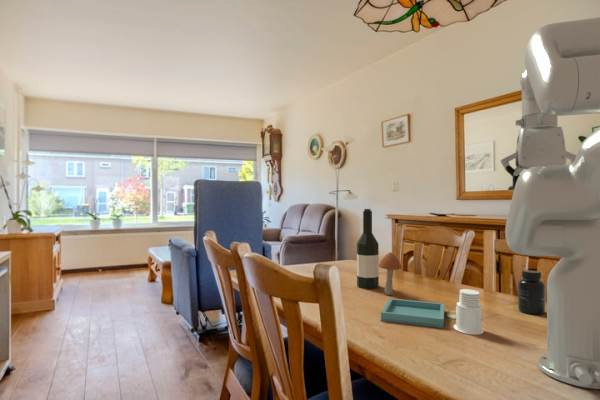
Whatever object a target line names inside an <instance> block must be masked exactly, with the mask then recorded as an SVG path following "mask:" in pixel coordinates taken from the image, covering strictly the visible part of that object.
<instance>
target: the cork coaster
mask: <svg viewBox="0 0 600 400" xmlns="http://www.w3.org/2000/svg"><path fill="white" fill-rule="evenodd" d="M445 317H447V318H448V319H450V320H451V321H452V320H453V321H456V310H449V311H447V312H446V313H445Z"/></svg>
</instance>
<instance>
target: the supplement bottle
mask: <svg viewBox="0 0 600 400" xmlns="http://www.w3.org/2000/svg"><path fill="white" fill-rule="evenodd" d="M521 278H522V279H519V280H518V282H517V283H518V285H517V297H518V298H517V305H518V306H517V309H518V311H519V312H521V313H524V314H528V315H535V316H537V315H539V316H540V315H542V316H543V315H544V314H545V313H546V284H545V283H544V281H542V280H541V279H542V273H541V272H540V271H538V270H537V271H536V270H528V269H526V270H525V269H524V270H522V271H521Z"/></svg>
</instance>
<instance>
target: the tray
mask: <svg viewBox="0 0 600 400" xmlns="http://www.w3.org/2000/svg"><path fill="white" fill-rule="evenodd" d="M380 314H381V315H380V321H381V322H389V323H396V324H397V323H398V324H404V325H415V326H423V327H431V328H440V329H444V326H445V325H444V323H445V303H443V302H441V303H439V302H432V301H431V302H430V301H423V300H422V301H421V300H410V299H399V298H391V297H390V298H389V299H388V301H387V302H386V304H385V306H384V307H383V309H382V311H381V312H380Z"/></svg>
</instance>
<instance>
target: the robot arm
mask: <svg viewBox="0 0 600 400" xmlns="http://www.w3.org/2000/svg"><path fill="white" fill-rule="evenodd" d="M524 66H525V69H524V71H523V72H522V73H521V75H520V82H519V83H520V89H521V118H520V119H517V120H515V126H519V127H520V128H521V129H519V130H518V135H517V139H516V148H515V152H514V153H512V154H510V155H507V156H506V157H504V158H502V159H501V160H500V163H501V165H502V167H503V168H504V171H506V172H507V173H508V174H509V175H510V176H511V178H512V189H513V193H512V198H511V201H510V205H509V210H508V214H507V216H506V217H507V218H506V223H505V228H504V235H505V241H506V245H507V247H508V248H509V249H510V250H511V251H512V252H514V253H515V254H518V255H522V256H532V257H533V256H536V257H556V258H560V259H559V261H558V262H557V263H556V264H554V266H553V268H551V270H550V272H549V274H548V276H547V280H546V318H547V319H546V321H547V322H546V329H547V330H546V343H547V344H546V345H547V346H546V348H547V351H546V354H545V355H542V356H540V357H539V358H538V360H537V365H538V368H539V370H540V371H541V372H543V373H544V374H545V375H547V376H548V377H551V378H553V379H555V380H556V381H560V382H563V383H566V384H569V385H572V386H576V387H580V388H585V389H593V390H600V126H599V127H597V128H596V129H594V131H593V132H591V133H590V134H589V135H588V136H586V138H585V139H584V140H583V141H582V143H581V144H580V146H579V148H578V150H577V153H576V154H574V153H572V152H569V151H567V150H566V140H565V135H564V129H563V127H562V126H558V125H559V124H558V117H559V116H560V117H561V116H576V115H578V116H579V115H593V114H600V17H599V16H597V17H590V18H584V19H578V20H576V19H575V20H569V21H562V22H561V21H560V22H553V23H548V24H545V25H543V26H541V27H540V28H538V29H536V30H535V32H534V33H533V34H532V35H531V37H530V38H529V40H528V43H527V44H526V48H525V54H524ZM514 159H515V168H513V167H512V166H511V165H510V162H511V161H512V160H514ZM567 159H568V160H570V163H568V164H566V163H567Z"/></svg>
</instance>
